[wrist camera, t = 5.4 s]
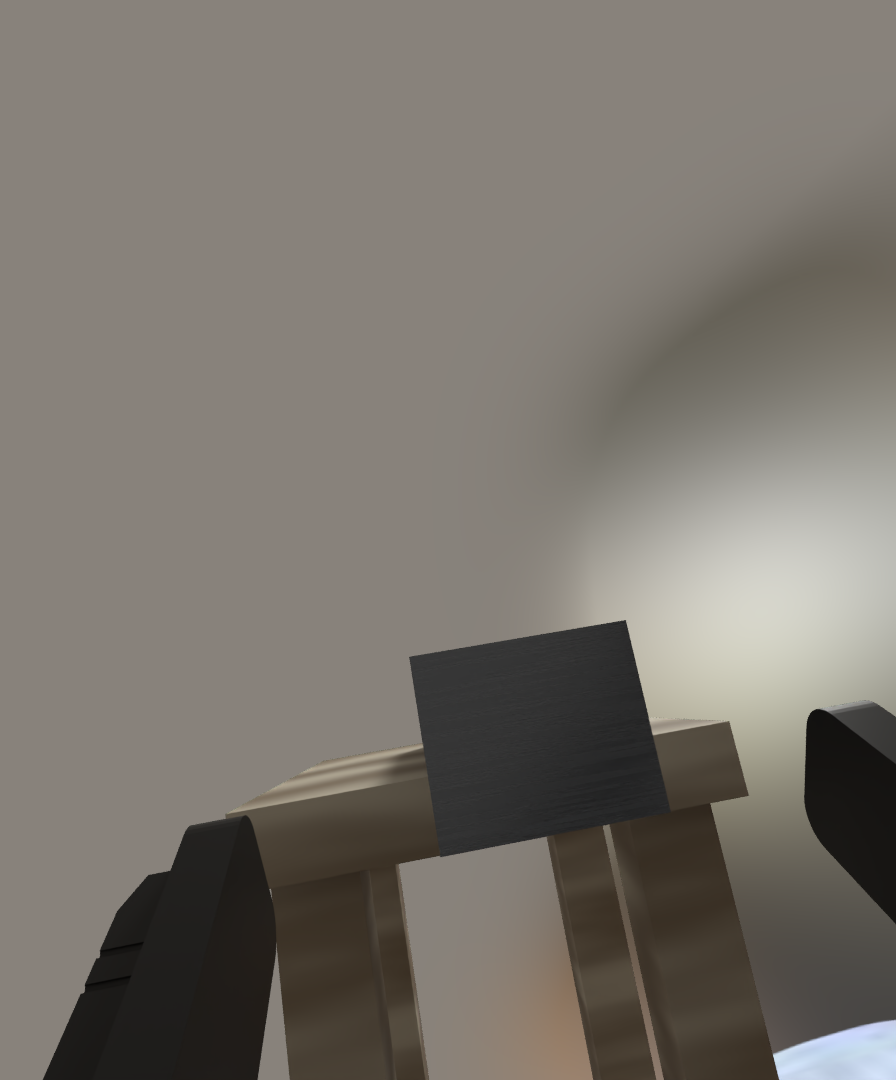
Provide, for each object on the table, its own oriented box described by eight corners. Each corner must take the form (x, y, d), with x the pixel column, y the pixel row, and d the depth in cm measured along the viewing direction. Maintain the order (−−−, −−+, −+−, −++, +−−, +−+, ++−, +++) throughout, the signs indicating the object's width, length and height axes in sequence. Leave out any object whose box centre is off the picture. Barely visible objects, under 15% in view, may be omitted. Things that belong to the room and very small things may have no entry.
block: (671, 813, 8) (626, 620, 9) (439, 857, 8) (409, 656, 9) (488, 735, 32) (479, 683, 32) (426, 746, 32) (418, 693, 32)
